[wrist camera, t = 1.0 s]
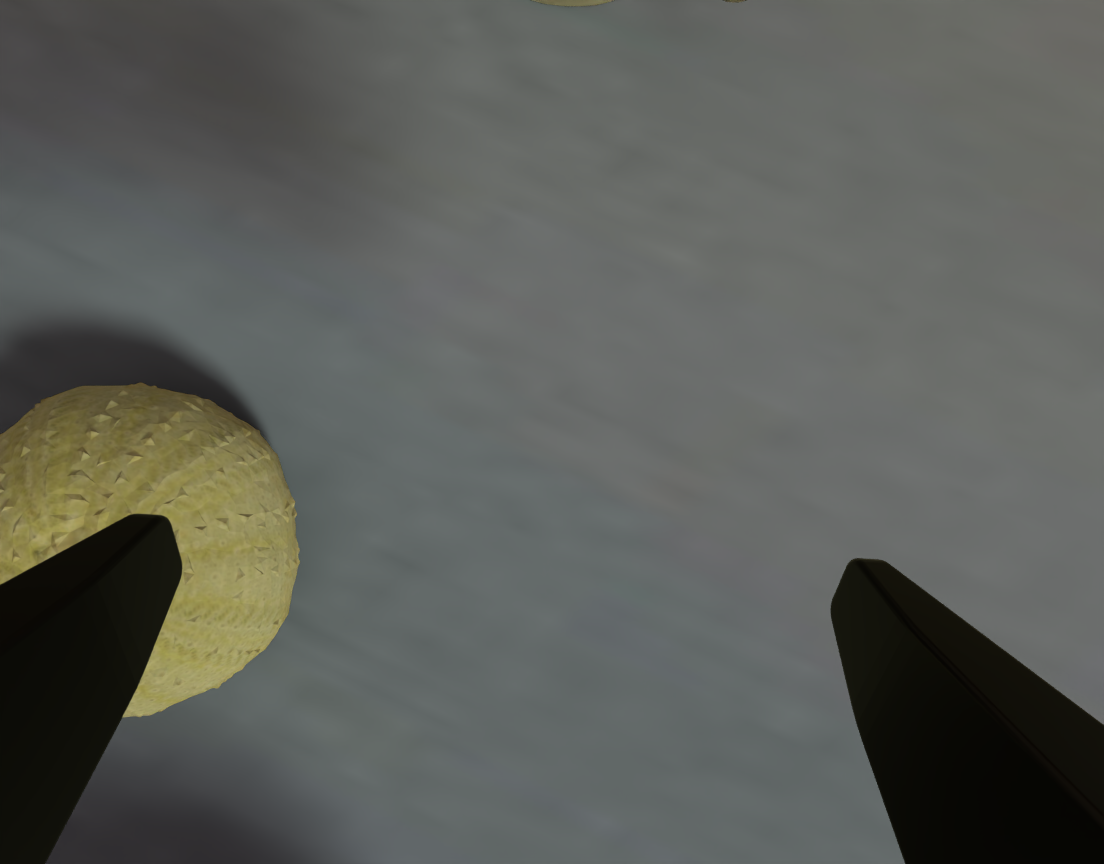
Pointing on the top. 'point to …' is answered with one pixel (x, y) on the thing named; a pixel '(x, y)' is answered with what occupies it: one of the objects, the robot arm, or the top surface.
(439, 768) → the top surface
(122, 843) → the top surface
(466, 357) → the top surface
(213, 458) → the sea urchin shell
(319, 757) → the top surface
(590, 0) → the coffee mug
